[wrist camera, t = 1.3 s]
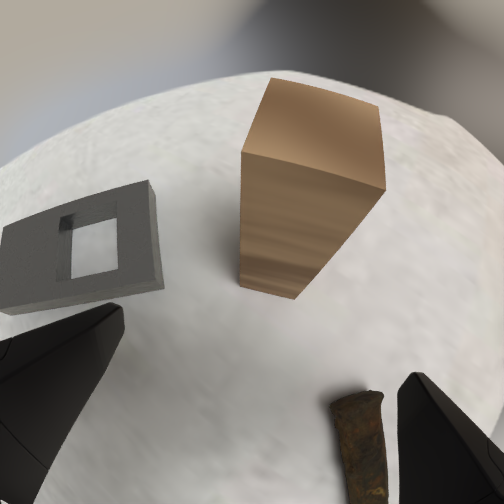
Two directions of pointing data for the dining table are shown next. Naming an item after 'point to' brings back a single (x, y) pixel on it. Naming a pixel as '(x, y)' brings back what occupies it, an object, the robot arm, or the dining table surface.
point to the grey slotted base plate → (59, 252)
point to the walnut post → (305, 183)
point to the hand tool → (363, 446)
